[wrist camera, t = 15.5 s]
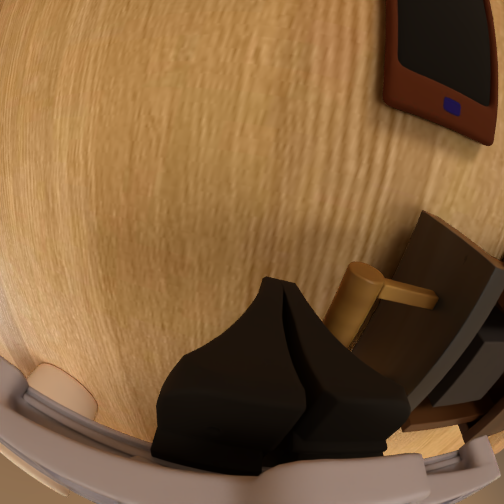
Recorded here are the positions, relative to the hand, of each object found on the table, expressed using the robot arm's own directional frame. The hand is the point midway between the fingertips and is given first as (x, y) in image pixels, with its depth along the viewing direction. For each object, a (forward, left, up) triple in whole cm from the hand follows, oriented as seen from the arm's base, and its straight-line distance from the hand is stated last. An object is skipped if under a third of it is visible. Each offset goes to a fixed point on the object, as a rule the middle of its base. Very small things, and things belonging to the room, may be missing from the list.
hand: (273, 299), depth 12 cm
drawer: (+10, 0, -2) cm, 10 cm away
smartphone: (+5, +17, -3) cm, 18 cm away
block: (+11, 0, -1) cm, 11 cm away
